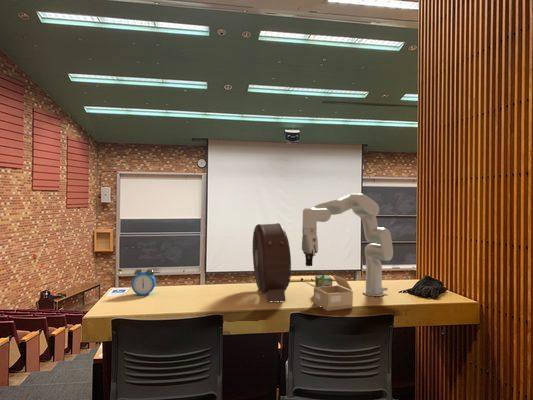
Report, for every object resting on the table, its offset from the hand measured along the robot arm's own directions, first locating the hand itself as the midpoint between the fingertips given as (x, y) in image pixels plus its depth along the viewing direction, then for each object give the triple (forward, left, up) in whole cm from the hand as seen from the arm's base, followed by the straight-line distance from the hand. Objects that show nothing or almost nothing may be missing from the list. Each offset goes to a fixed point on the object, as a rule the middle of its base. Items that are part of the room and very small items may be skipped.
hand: (309, 265), depth 187 cm
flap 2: (-21, 0, -11) cm, 24 cm away
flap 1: (-4, 0, -12) cm, 12 cm away
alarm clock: (+80, -57, -23) cm, 101 cm away
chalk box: (-21, -19, -23) cm, 37 cm away
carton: (-15, 0, -23) cm, 28 cm away
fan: (+9, -32, -23) cm, 40 cm away
